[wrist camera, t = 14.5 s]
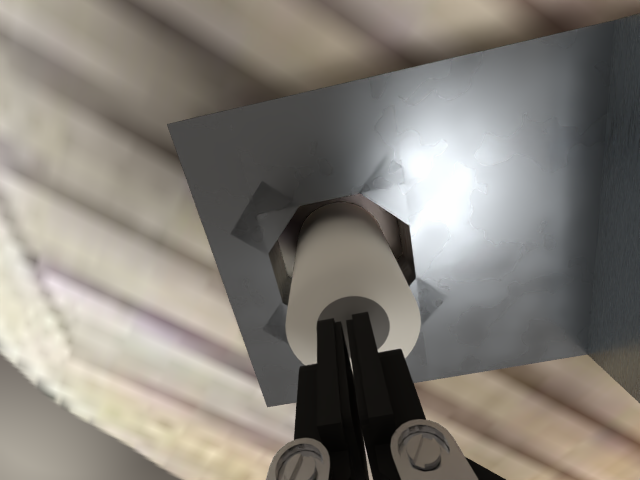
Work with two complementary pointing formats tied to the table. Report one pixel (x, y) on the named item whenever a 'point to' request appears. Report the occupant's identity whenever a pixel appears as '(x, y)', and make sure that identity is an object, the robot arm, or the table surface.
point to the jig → (449, 201)
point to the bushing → (348, 282)
